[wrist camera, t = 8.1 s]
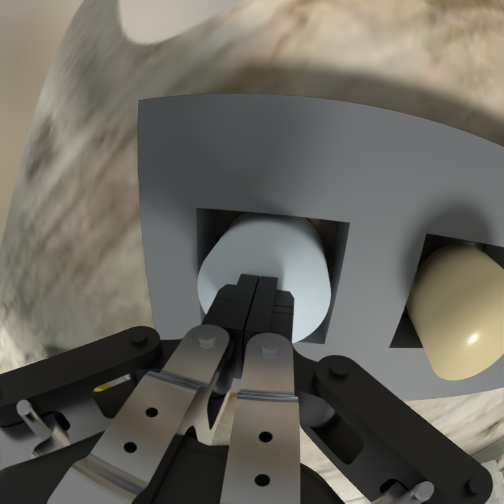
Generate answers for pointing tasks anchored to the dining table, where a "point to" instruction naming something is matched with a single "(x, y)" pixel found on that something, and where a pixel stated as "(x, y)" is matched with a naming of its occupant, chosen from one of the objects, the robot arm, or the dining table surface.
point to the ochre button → (459, 310)
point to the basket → (495, 483)
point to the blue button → (272, 264)
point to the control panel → (319, 212)
